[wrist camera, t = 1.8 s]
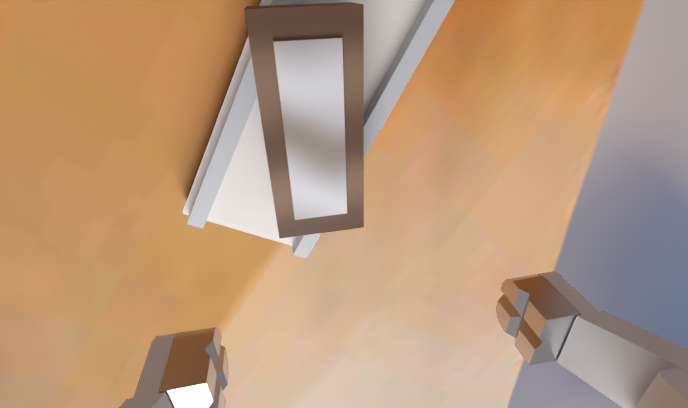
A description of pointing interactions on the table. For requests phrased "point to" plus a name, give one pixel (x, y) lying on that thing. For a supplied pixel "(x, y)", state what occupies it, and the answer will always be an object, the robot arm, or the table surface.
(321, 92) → the picture frame
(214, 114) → the table surface
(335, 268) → the table surface
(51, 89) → the table surface
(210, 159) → the picture ledge
